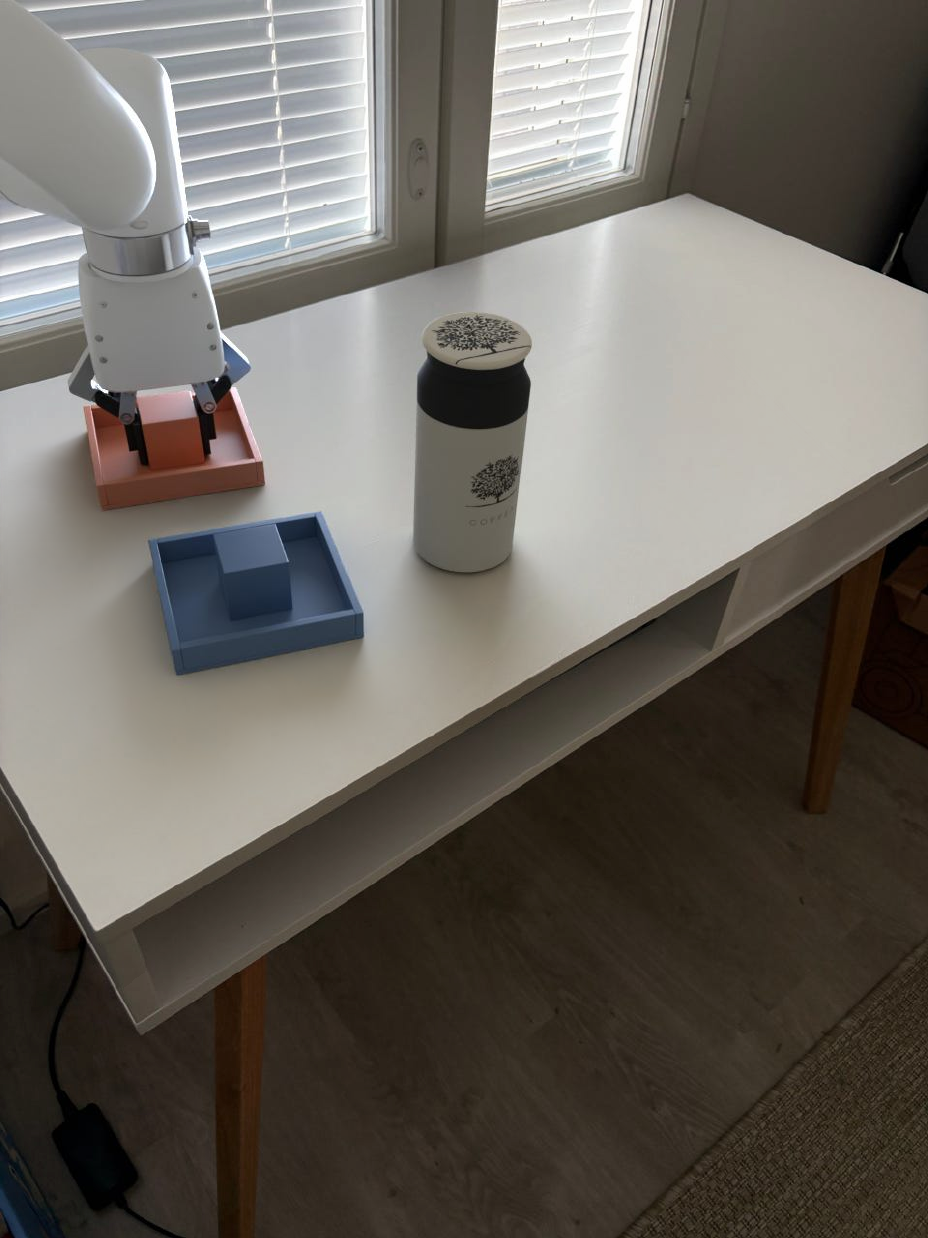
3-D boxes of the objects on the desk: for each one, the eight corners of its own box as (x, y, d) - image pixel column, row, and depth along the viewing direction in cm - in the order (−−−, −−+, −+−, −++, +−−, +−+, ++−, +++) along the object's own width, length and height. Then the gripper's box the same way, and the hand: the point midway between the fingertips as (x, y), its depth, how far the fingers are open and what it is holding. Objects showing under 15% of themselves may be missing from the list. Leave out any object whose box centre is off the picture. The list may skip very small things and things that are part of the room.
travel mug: (400, 521, 82) (403, 315, 70) (491, 506, 84) (510, 303, 72) (430, 583, 77) (439, 372, 65) (527, 565, 79) (553, 357, 67)
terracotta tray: (101, 510, 81) (96, 486, 80) (88, 429, 89) (83, 406, 88) (265, 484, 85) (263, 461, 83) (238, 409, 93) (235, 386, 91)
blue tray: (176, 676, 69) (171, 650, 67) (152, 564, 77) (147, 539, 75) (364, 637, 72) (363, 612, 71) (322, 534, 80) (321, 510, 79)
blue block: (230, 621, 72) (224, 573, 69) (219, 581, 75) (212, 534, 72) (292, 609, 73) (289, 562, 70) (279, 570, 76) (275, 523, 73)
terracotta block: (150, 470, 85) (142, 424, 82) (144, 442, 88) (135, 396, 85) (204, 462, 86) (198, 417, 83) (196, 434, 89) (189, 389, 86)
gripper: (244, 212, 79) (263, 414, 92) (14, 231, 74) (67, 441, 87) (263, 252, 74) (280, 460, 87) (18, 275, 69) (74, 491, 82)
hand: (173, 448), depth 87 cm, fingers closed on terracotta block, 4 cm apart
